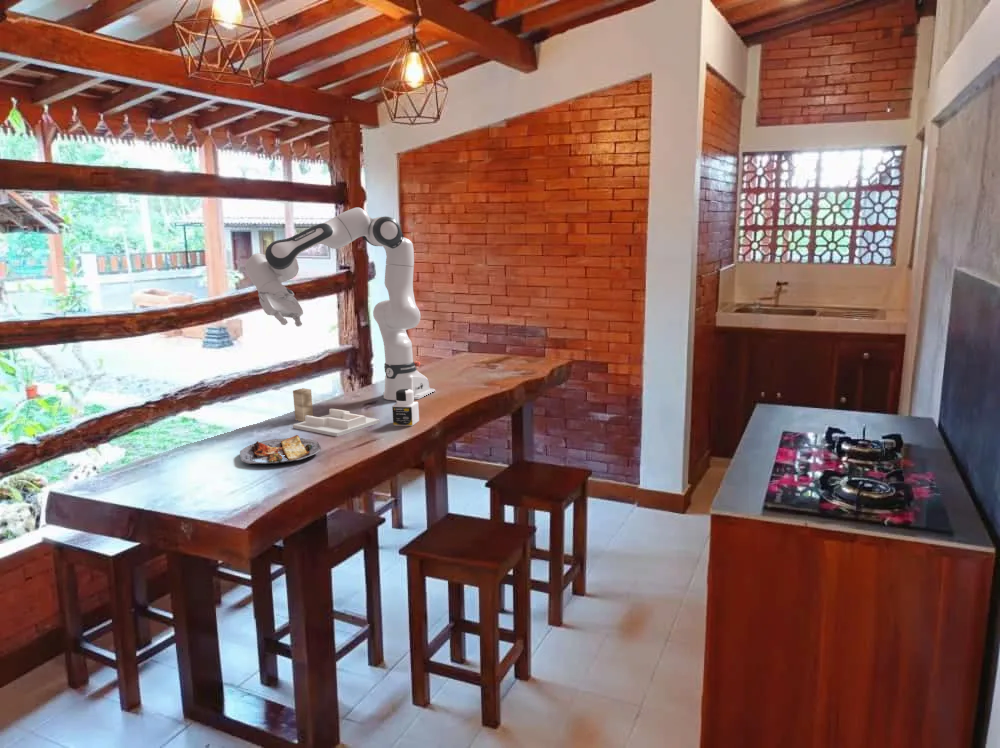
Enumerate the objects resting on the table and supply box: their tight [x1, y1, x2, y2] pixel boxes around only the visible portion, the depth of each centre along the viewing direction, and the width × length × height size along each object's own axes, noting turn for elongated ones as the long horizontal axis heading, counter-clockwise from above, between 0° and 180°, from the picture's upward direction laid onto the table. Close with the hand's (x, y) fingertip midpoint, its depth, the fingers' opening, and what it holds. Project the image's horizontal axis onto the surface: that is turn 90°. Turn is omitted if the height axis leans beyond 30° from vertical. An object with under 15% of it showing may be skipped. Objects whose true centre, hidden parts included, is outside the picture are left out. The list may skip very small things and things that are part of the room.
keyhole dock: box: [292, 408, 381, 438], centre depth 257 cm, size 20×22×4 cm
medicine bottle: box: [392, 389, 420, 427], centre depth 256 cm, size 7×7×12 cm
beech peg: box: [292, 387, 314, 422], centre depth 266 cm, size 4×4×11 cm
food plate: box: [239, 434, 321, 465], centre depth 225 cm, size 25×23×4 cm
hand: (292, 324), depth 266 cm, fingers open, 8 cm apart
